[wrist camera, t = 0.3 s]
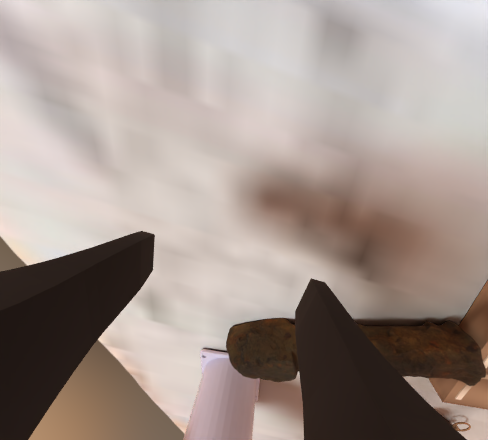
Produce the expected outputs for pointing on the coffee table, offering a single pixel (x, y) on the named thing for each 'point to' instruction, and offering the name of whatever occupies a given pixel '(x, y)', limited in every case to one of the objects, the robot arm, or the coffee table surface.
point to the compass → (457, 426)
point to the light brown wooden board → (484, 333)
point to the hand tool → (383, 338)
